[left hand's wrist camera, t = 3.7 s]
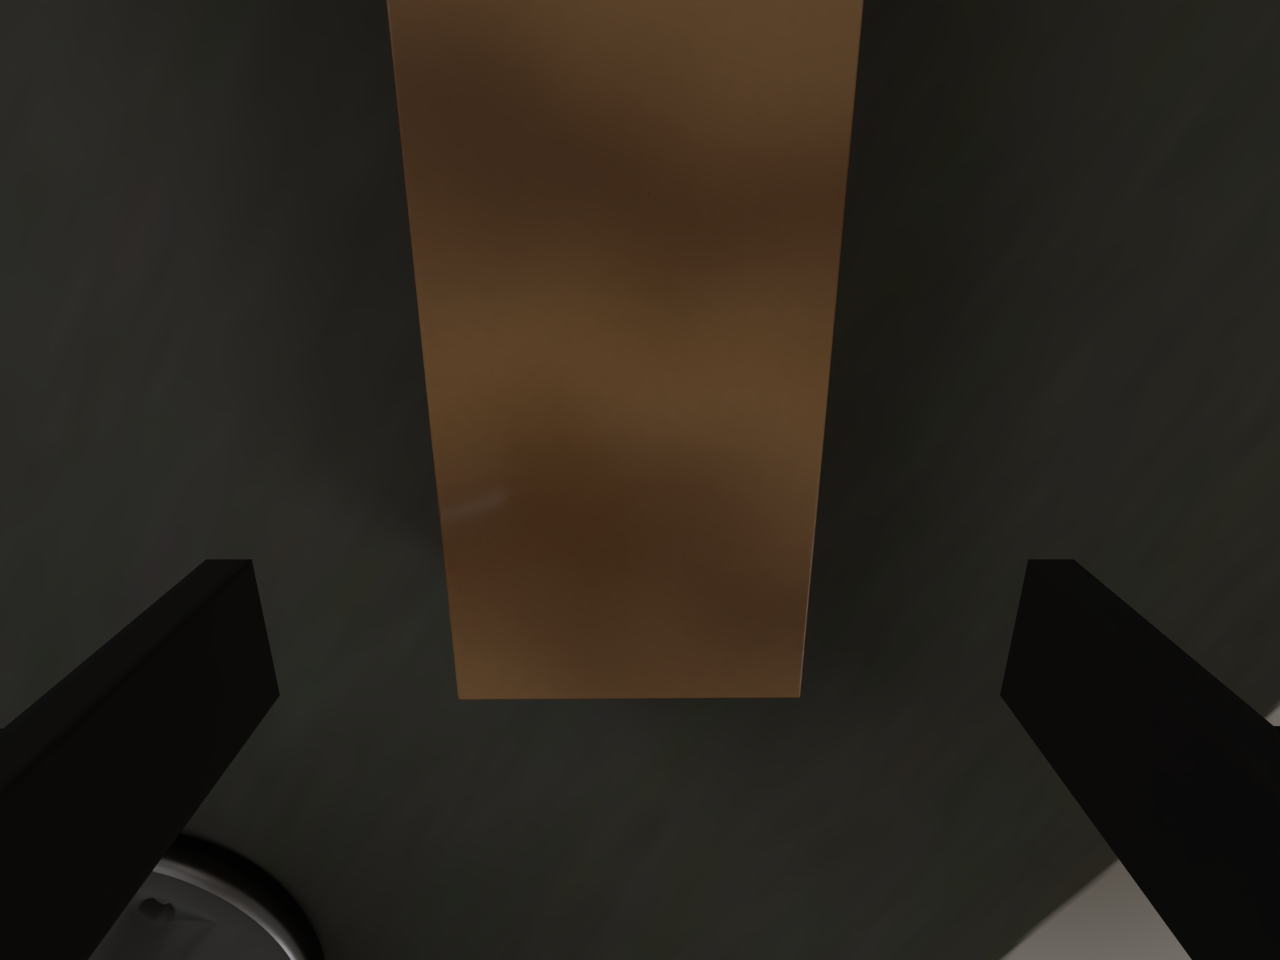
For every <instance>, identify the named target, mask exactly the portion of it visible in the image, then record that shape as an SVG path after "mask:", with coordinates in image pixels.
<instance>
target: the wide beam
mask: <svg viewBox="0 0 1280 960" xmlns="http://www.w3.org/2000/svg"><path fill="white" fill-rule="evenodd" d="M863 2H864V0H386V4H387V13H388V23H389V33H390V42H391V52H392V62H393V71H394V81H395V91H396V100H397V110H398V120H399V130H400V139H401V149H402V159H403V168H404V178H405V188H406V197H407V207H408V217H409V226H410V236H411V246H412V256H413V265H414V275H415V285H416V294H417V304H418V314H419V323H420V333H421V343H422V352H423V362H424V372H425V382H426V391H427V401H428V411H429V420H430V430H431V440H432V449H433V459H434V469H435V478H436V488H437V498H438V508H439V517H440V527H441V537H442V546H443V556H444V566H445V575H446V585H447V595H448V604H449V614H450V624H451V634H452V643H453V653H454V663H455V672H456V682H457V692H458V698H459V699H626V698H798V697H800V695H801V684H802V673H803V662H804V651H805V640H806V629H807V618H808V607H809V596H810V585H811V574H812V563H813V552H814V541H815V530H816V519H817V508H818V497H819V486H820V475H821V464H822V453H823V442H824V431H825V420H826V409H827V398H828V387H829V376H830V365H831V354H832V343H833V332H834V321H835V310H836V299H837V288H838V277H839V266H840V255H841V244H842V233H843V222H844V211H845V200H846V189H847V178H848V167H849V156H850V145H851V134H852V123H853V112H854V101H855V90H856V79H857V68H858V57H859V46H860V35H861V24H862V13H863Z"/></svg>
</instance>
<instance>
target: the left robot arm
mask: <svg viewBox="0 0 1280 960" xmlns="http://www.w3.org/2000/svg"><path fill="white" fill-rule="evenodd" d="M279 696H280V694H279V689H278V684H277V680H276V675H275V670H274V665H273V660H272V655H271V651H270V646H269V641H268V636H267V631H266V626H265V622H264V617H263V612H262V607H261V602H260V597H259V593H258V588H257V583H256V578H255V573H254V568H253V564H252V560H205V561H204V562H203V563H202V564H200V565H199V566H198V567H197V568H196V569H194V570H193V571H192V572H191V573H190V574H188V575H187V576H186V577H185V578H184V579H182V580H181V581H180V582H179V583H178V584H176V585H175V586H174V587H173V588H172V589H170V590H169V591H168V592H167V593H166V594H164V595H163V596H162V597H161V598H160V599H158V600H157V601H156V602H155V603H154V604H152V605H151V606H150V607H149V608H148V609H146V610H145V611H144V612H143V613H142V614H140V615H139V616H138V617H137V618H136V619H134V620H133V621H132V622H131V623H130V624H128V625H127V626H126V627H125V628H124V629H122V630H121V631H120V632H119V633H118V634H116V635H115V636H114V637H113V638H112V639H110V640H109V641H108V642H107V643H106V644H104V645H103V646H102V647H101V648H100V649H98V650H97V651H96V652H95V653H94V654H92V655H91V656H90V657H89V658H88V659H86V660H85V661H84V662H83V663H82V664H80V665H79V666H78V667H77V668H76V669H74V670H73V671H72V672H71V673H70V674H68V675H67V676H66V677H65V678H64V679H62V680H61V681H60V682H59V683H58V684H56V685H55V686H54V687H53V688H52V689H50V690H49V691H48V692H47V693H46V694H44V695H43V696H42V697H41V698H40V699H38V700H37V701H36V702H35V703H34V704H32V705H31V706H30V707H29V708H28V709H26V710H25V711H24V712H23V713H22V714H20V715H19V716H18V717H17V718H16V719H14V720H13V721H12V722H11V723H10V724H8V725H7V726H6V727H5V728H4V729H0V960H324V956H323V952H322V949H321V945H320V942H319V940H318V938H317V936H316V933H315V931H314V929H313V928H312V926H311V924H310V922H309V921H308V919H307V918H306V916H305V915H304V914H303V912H302V911H301V910H300V908H299V907H298V906H297V905H296V904H295V902H294V901H293V900H292V899H291V898H290V897H289V896H288V895H287V894H286V893H285V892H284V891H283V890H282V889H281V888H280V887H279V886H277V885H276V884H275V883H274V882H273V881H271V880H270V879H269V878H267V877H266V876H265V875H264V874H262V873H261V872H259V871H258V870H256V869H254V868H253V867H251V866H250V865H248V864H247V863H245V862H243V861H241V860H239V859H238V858H236V857H234V856H232V855H230V854H228V853H226V852H223V851H221V850H219V849H217V848H215V847H212V846H209V845H207V844H204V843H202V842H199V841H196V840H192V839H189V838H186V837H183V836H179V834H180V832H181V831H182V829H183V828H184V827H185V825H186V824H187V823H188V821H189V820H190V818H191V817H192V816H193V814H194V813H195V812H196V810H197V809H198V807H199V806H200V805H201V803H202V802H203V800H204V799H205V798H206V796H207V795H208V794H209V792H210V791H211V789H212V788H213V787H214V785H215V784H216V783H217V781H218V780H219V778H220V777H221V776H222V774H223V773H224V771H225V770H226V769H227V767H228V766H229V765H230V763H231V762H232V760H233V759H234V758H235V756H236V755H237V754H238V752H239V751H240V749H241V748H242V747H243V745H244V744H245V743H246V741H247V740H248V738H249V737H250V736H251V734H252V733H253V731H254V730H255V729H256V727H257V726H258V725H259V723H260V722H261V720H262V719H263V718H264V716H265V715H266V714H267V712H268V711H269V709H270V708H271V707H272V705H273V704H274V703H275V701H276V700H277V698H278V697H279ZM1000 696H1001V697H1002V698H1003V700H1004V701H1005V703H1006V704H1007V705H1008V707H1009V708H1010V709H1011V711H1012V712H1013V714H1014V715H1015V716H1016V718H1017V719H1018V720H1019V722H1020V723H1021V725H1022V726H1023V727H1024V729H1025V730H1026V731H1027V733H1028V734H1029V736H1030V737H1031V738H1032V740H1033V741H1034V743H1035V744H1036V745H1037V747H1038V748H1039V749H1040V751H1041V752H1042V754H1043V755H1044V756H1045V758H1046V759H1047V760H1048V762H1049V763H1050V765H1051V766H1052V767H1053V769H1054V770H1055V771H1056V773H1057V774H1058V776H1059V777H1060V778H1061V780H1062V781H1063V783H1064V784H1065V785H1066V787H1067V788H1068V789H1069V791H1070V792H1071V794H1072V795H1073V796H1074V798H1075V799H1076V800H1077V802H1078V803H1079V805H1080V806H1081V807H1082V809H1083V810H1084V812H1085V813H1086V814H1087V816H1088V817H1089V818H1090V820H1091V821H1092V823H1093V824H1094V825H1095V827H1096V828H1097V829H1098V831H1099V832H1100V834H1101V835H1102V836H1103V838H1104V839H1105V840H1106V842H1107V843H1108V845H1109V846H1110V847H1111V849H1112V850H1113V852H1114V853H1115V854H1116V856H1117V857H1118V858H1119V860H1120V861H1121V863H1122V864H1123V865H1124V867H1125V868H1126V869H1127V871H1128V872H1129V874H1130V875H1131V876H1132V878H1133V879H1134V880H1135V882H1136V883H1137V885H1138V886H1139V887H1140V889H1141V890H1142V892H1143V893H1144V894H1145V896H1146V897H1147V898H1148V900H1149V901H1150V902H1151V904H1152V905H1153V907H1154V908H1155V909H1156V911H1157V912H1158V914H1159V915H1160V916H1161V918H1162V919H1163V921H1164V922H1165V923H1166V925H1167V926H1168V927H1169V929H1170V930H1171V932H1172V933H1173V934H1174V936H1175V937H1176V938H1177V940H1178V941H1179V943H1180V944H1181V945H1182V947H1183V948H1184V949H1185V951H1186V952H1187V954H1188V955H1189V956H1190V958H1191V959H1192V960H1280V726H1273V725H1272V724H1270V723H1269V722H1268V721H1267V720H1266V719H1264V718H1263V717H1262V716H1261V715H1260V714H1258V713H1257V712H1256V711H1255V710H1254V709H1252V708H1251V707H1250V706H1249V705H1248V704H1246V703H1245V702H1244V701H1243V700H1242V699H1240V698H1239V697H1238V696H1237V695H1236V694H1234V693H1233V692H1232V691H1231V690H1230V689H1228V688H1227V687H1226V686H1225V685H1224V684H1222V683H1221V682H1220V681H1219V680H1218V679H1216V678H1215V677H1214V676H1213V675H1212V674H1210V673H1209V672H1208V671H1207V670H1206V669H1204V668H1203V667H1202V666H1201V665H1200V664H1198V663H1197V662H1196V661H1195V660H1194V659H1192V658H1191V657H1190V656H1189V655H1188V654H1186V653H1185V652H1184V651H1183V650H1182V649H1180V648H1179V647H1178V646H1177V645H1176V644H1174V643H1173V642H1172V641H1171V640H1170V639H1168V638H1167V637H1166V636H1165V635H1164V634H1162V633H1161V632H1160V631H1159V630H1158V629H1156V628H1155V627H1154V626H1153V625H1152V624H1150V623H1149V622H1148V621H1147V620H1146V619H1144V618H1143V617H1142V616H1141V615H1140V614H1138V613H1137V612H1136V611H1135V610H1134V609H1132V608H1131V607H1130V606H1129V605H1128V604H1126V603H1125V602H1124V601H1123V600H1122V599H1120V598H1119V597H1118V596H1117V595H1116V594H1114V593H1113V592H1112V591H1111V590H1110V589H1108V588H1107V587H1106V586H1105V585H1104V584H1102V583H1101V582H1100V581H1099V580H1098V579H1096V578H1095V577H1094V576H1093V575H1092V574H1090V573H1089V572H1088V571H1087V570H1086V569H1084V568H1083V567H1082V566H1081V565H1080V564H1078V563H1077V562H1076V561H1075V560H1028V564H1027V568H1026V573H1025V578H1024V583H1023V588H1022V593H1021V597H1020V602H1019V607H1018V612H1017V617H1016V622H1015V626H1014V631H1013V636H1012V641H1011V646H1010V651H1009V655H1008V660H1007V665H1006V670H1005V675H1004V680H1003V684H1002V689H1001V694H1000Z"/></svg>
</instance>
